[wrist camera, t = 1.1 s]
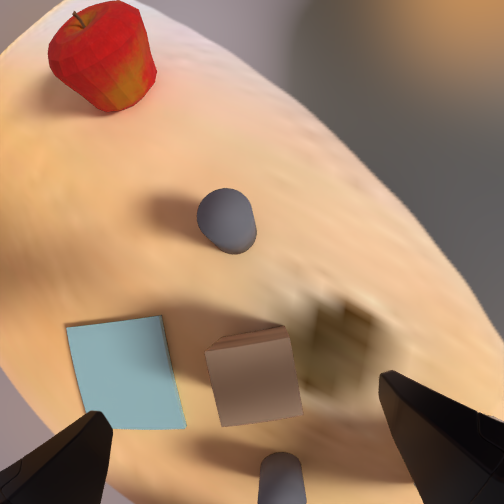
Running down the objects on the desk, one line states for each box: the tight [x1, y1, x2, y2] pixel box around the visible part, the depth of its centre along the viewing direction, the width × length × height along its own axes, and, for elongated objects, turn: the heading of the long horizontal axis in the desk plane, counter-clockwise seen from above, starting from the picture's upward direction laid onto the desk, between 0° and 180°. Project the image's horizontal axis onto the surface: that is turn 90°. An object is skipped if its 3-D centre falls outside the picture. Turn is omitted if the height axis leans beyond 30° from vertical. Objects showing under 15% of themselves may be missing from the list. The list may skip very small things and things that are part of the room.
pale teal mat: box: [66, 315, 187, 430], centre depth 21 cm, size 9×9×1 cm
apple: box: [48, 0, 157, 112], centre depth 19 cm, size 9×8×12 cm
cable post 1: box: [197, 188, 257, 254], centre depth 20 cm, size 3×3×5 cm
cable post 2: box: [258, 452, 307, 504], centre depth 17 cm, size 3×3×5 cm
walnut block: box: [205, 326, 303, 427], centre depth 18 cm, size 4×4×6 cm
